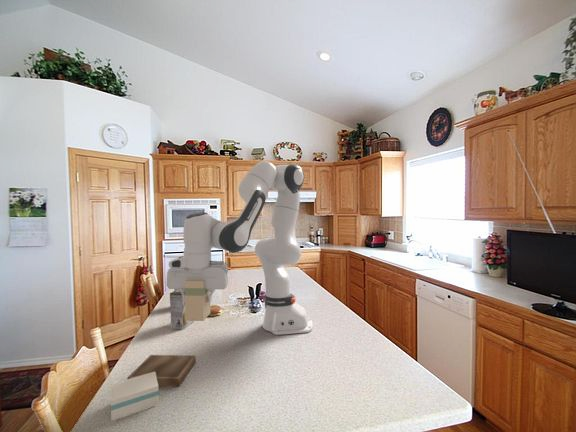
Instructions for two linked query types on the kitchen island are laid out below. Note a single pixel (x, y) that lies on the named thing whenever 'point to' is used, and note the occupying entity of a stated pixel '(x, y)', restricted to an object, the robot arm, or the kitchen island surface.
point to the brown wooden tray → (166, 368)
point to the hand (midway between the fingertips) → (198, 301)
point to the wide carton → (134, 395)
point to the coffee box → (178, 310)
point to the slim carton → (196, 300)
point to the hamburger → (215, 310)
